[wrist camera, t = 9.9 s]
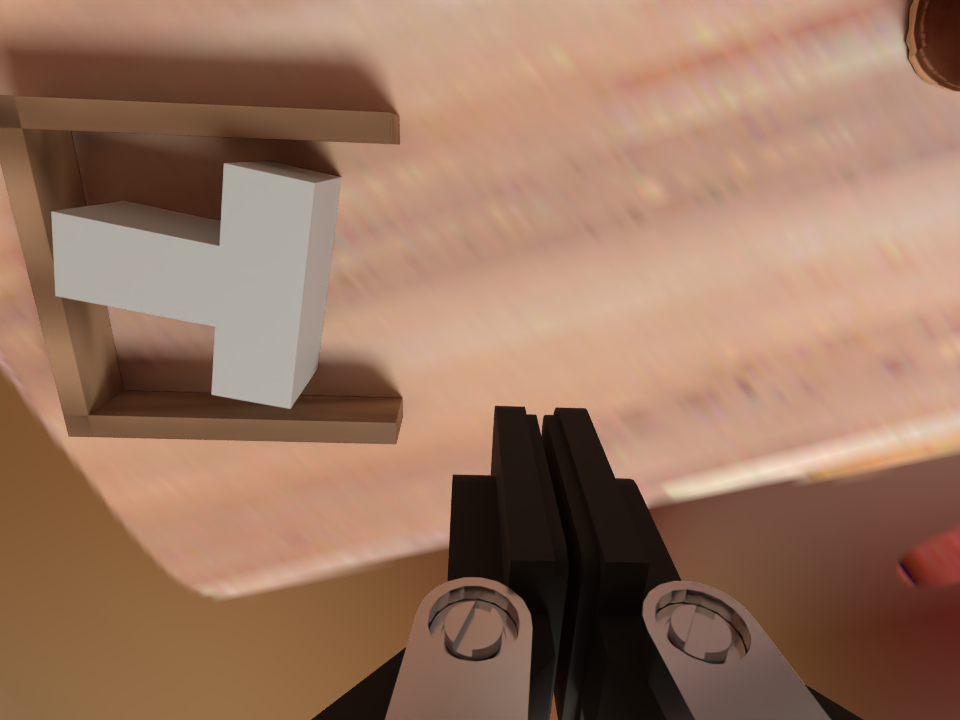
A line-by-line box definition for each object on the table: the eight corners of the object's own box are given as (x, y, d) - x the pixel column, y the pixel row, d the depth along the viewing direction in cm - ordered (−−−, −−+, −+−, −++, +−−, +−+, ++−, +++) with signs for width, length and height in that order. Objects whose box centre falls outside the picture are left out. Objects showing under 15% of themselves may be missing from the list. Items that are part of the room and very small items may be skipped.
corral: (37, 100, 25) (-17, 94, 22) (399, 116, 26) (391, 112, 23) (105, 409, 31) (68, 436, 28) (402, 417, 31) (396, 444, 28)
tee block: (123, 128, 26) (46, 124, 21) (341, 177, 27) (315, 183, 22) (124, 331, 29) (58, 367, 24) (317, 368, 30) (290, 408, 25)
